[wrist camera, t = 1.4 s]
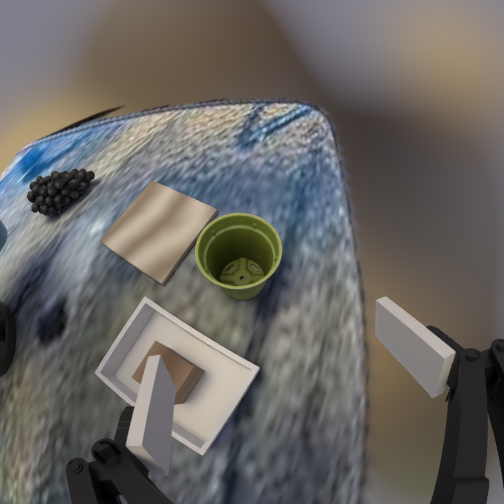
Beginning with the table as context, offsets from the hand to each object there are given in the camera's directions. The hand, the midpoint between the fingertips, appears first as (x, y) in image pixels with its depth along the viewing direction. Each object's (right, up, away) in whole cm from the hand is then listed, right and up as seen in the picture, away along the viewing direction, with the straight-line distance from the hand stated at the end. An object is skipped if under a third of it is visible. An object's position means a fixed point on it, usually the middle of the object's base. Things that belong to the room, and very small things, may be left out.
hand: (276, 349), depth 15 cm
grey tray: (-10, -10, +16) cm, 22 cm away
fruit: (-38, +16, +31) cm, 52 cm away
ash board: (-16, +9, +27) cm, 33 cm away
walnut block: (-10, -10, +15) cm, 21 cm away
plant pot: (-3, +2, +23) cm, 23 cm away
